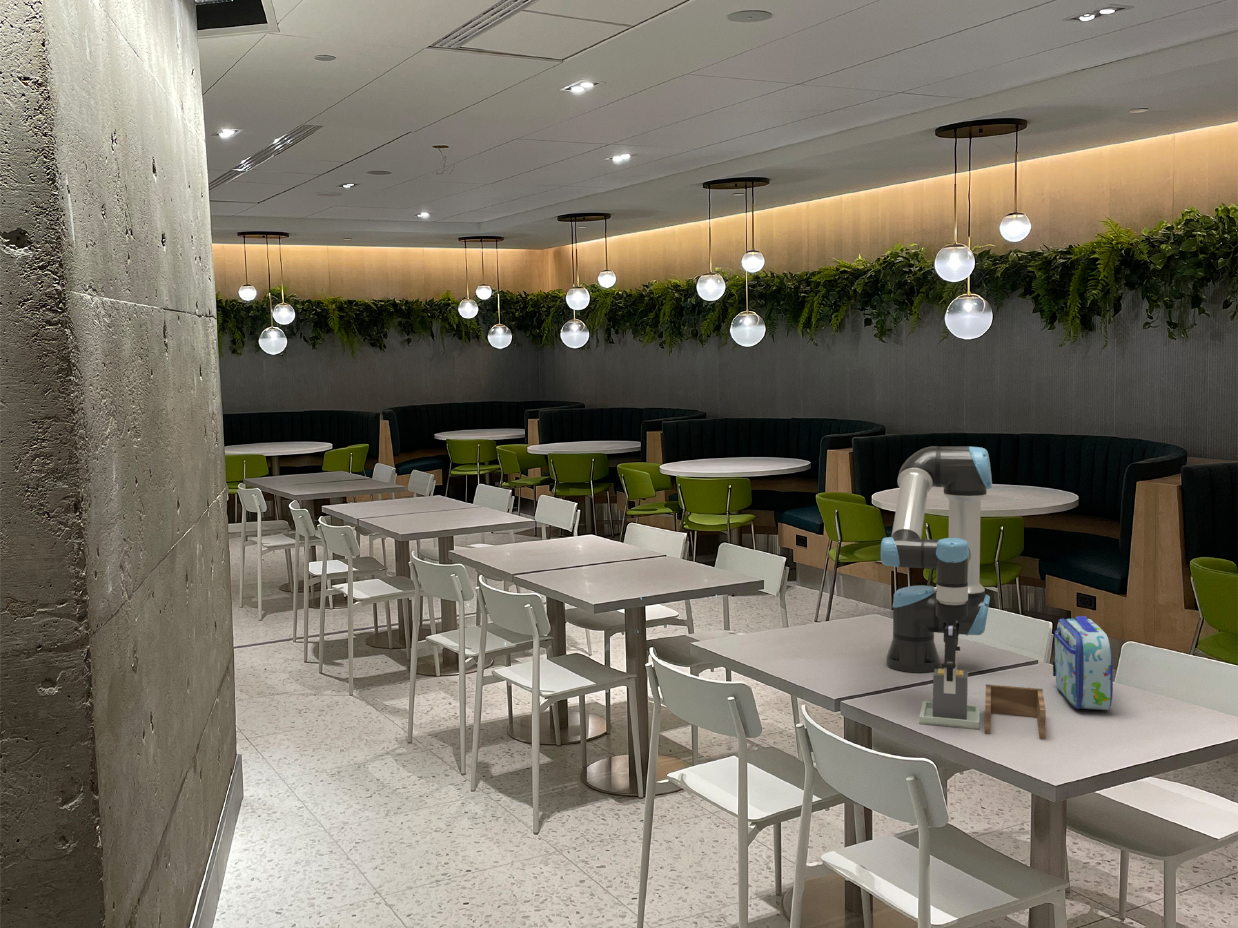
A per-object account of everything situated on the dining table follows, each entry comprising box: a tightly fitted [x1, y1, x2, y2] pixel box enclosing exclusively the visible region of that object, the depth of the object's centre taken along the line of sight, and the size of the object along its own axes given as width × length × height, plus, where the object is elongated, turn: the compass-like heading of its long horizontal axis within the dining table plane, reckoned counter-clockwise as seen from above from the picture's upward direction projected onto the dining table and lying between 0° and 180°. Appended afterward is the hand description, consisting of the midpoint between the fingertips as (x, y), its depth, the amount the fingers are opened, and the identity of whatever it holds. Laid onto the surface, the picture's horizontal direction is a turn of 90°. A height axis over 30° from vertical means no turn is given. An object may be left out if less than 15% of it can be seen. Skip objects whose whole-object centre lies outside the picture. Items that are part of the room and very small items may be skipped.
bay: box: [984, 684, 1047, 740], centre depth 260 cm, size 17×13×7 cm
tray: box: [918, 700, 981, 730], centre depth 266 cm, size 13×14×2 cm
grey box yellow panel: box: [932, 668, 969, 720], centre depth 265 cm, size 6×8×11 cm
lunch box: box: [1052, 615, 1114, 711], centre depth 278 cm, size 26×11×21 cm, turn 168°
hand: (950, 684), depth 265 cm, fingers open, 13 cm apart
